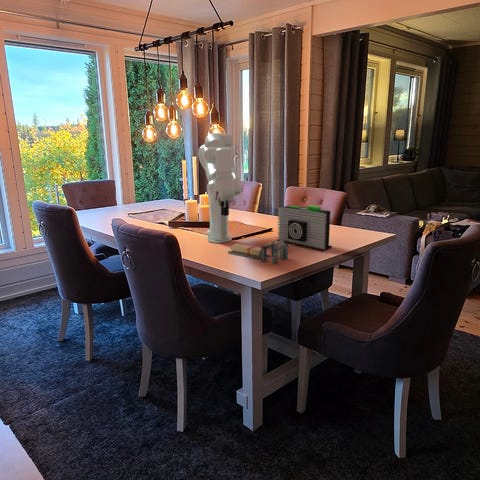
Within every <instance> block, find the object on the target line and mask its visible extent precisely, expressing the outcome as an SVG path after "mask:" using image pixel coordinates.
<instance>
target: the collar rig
mask: <svg viewBox="0 0 480 480" xmlns="http://www.w3.org/2000/svg"><path fill="white" fill-rule="evenodd" d="M277 245H279V246H277ZM260 248H261V260H260V262H262V263H265V262H267V260H268V259H267V258H268V257H267V252H268V251H267V250H268V249H270V248H271V250H270V251H271V252H270V253H271V254H270V258H272V265H278V264H279V258H280V259H282V260H284V261H287V260H288V259H289V244H288V243H283V240H280V241H272V242H270V243H267V244H265V245H262V246H261V247H260Z"/></svg>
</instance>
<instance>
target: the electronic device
mask: <svg viewBox="0 0 480 480" xmlns="http://www.w3.org/2000/svg"><path fill="white" fill-rule="evenodd" d="M277 208H278V209H277V213H278V214H277V218H278V219H277V222H276V223H277V226H276V227H277V234H276V235H277V239H276V242H278V241H280V240H283V244H288V245H292V246H293V245H294V246H298V247H301V248H307V249H311V250H315V251H320V252H326V251H328V250H331V249H332V247H333V246H332V245H330V230H331V228H330V227H331V226H330V225H331V210H327V209H326V210H325V209H322V207H321V206H318V205H307V207H304V206H296V205H286V206H283V205H282V206H281V205H279V206H277ZM325 250H326V251H325Z"/></svg>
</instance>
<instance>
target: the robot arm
mask: <svg viewBox="0 0 480 480" xmlns="http://www.w3.org/2000/svg"><path fill="white" fill-rule="evenodd" d="M233 148H234V138H233V136H232V134H230V133H227V132H215V133H209V134H208V135H206V137H205V140H204V143H203V145H201V146H200V147H199V148H198V152H197V153H198V159H199V162H200V164H201V166H202V168H203V169H204V171H205V175H206V179H207V181H208V183H207V184H206V190H207V191H206V192H207V195H208V203H209V204H208V206H209V207H208V208H209V209H208V211H209V230H207V231H206V232H205V235H207V236H208V237H206V238H207V242H209V243H215V244H221V243H222V244H224V243H228V242H230V241H232V236H229V215H230V205H231V203H232V202H233V201H234V199H235V198H236V199H237V198H238V197H240V196H241V194H242V192H243V191H242V184H241V181H240V178H239V174H238V173H237V170H236V169H235V168H234V167H233V159H234V152H233Z"/></svg>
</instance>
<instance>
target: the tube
mask: <svg viewBox="0 0 480 480" xmlns="http://www.w3.org/2000/svg"><path fill="white" fill-rule="evenodd" d="M230 249H231V251H232V252H237V253H242V254H246V255H251V256H256V257H261V247H257V246H254V245H247V244H243V243H234V244H231V247H230Z"/></svg>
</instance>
